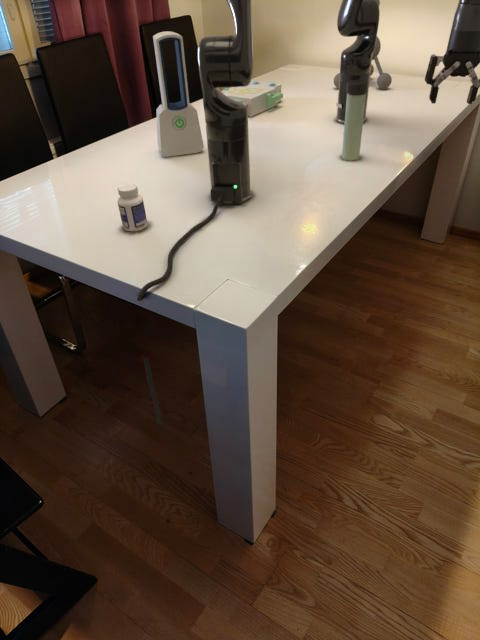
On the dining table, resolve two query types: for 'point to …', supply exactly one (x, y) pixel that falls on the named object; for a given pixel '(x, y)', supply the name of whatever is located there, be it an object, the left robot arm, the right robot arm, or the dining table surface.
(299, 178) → the dining table surface
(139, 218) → the pill bottle
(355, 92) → the lid
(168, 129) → the electronic device
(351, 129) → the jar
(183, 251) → the dining table surface
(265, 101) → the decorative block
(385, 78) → the molecular model
